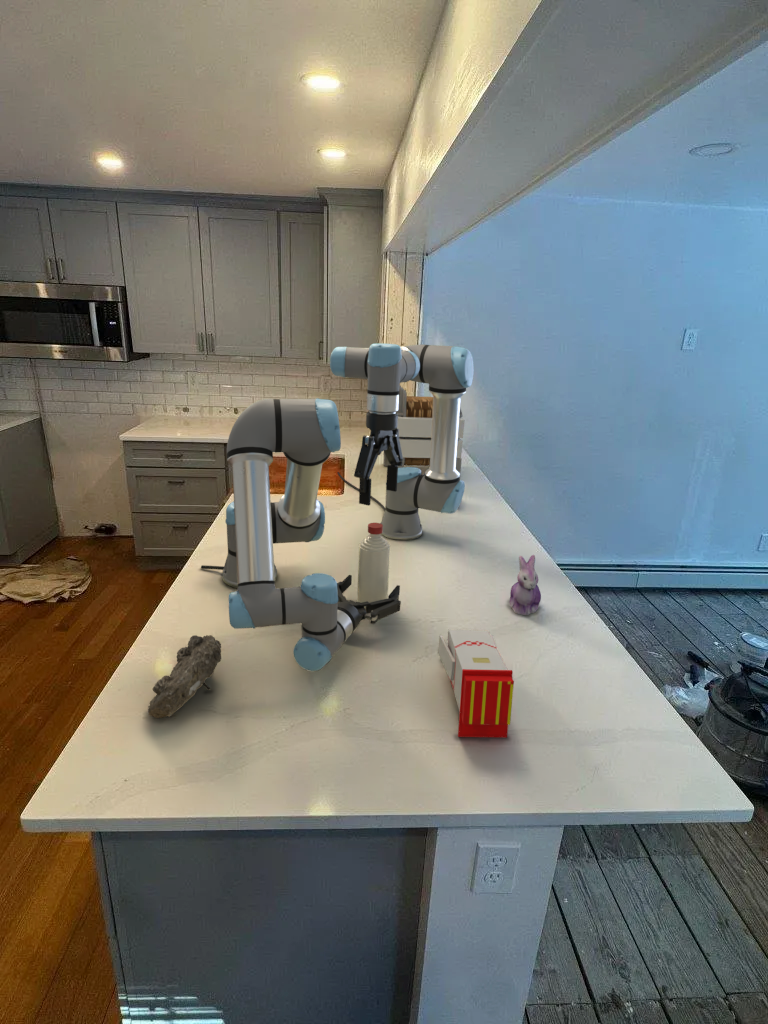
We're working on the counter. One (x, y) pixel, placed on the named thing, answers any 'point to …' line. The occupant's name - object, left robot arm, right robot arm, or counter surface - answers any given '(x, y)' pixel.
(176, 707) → the fossil
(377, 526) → the cap
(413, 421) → the white slatted crate
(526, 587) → the figurine
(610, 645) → the counter surface
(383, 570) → the bottle
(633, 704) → the counter surface
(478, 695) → the toy
